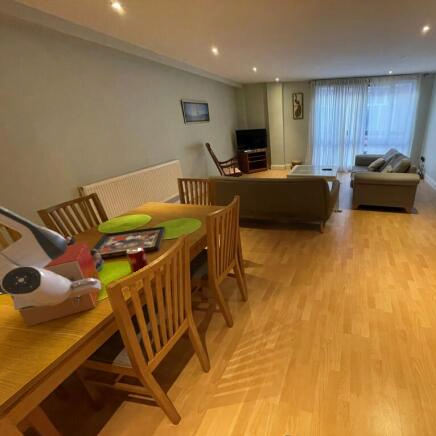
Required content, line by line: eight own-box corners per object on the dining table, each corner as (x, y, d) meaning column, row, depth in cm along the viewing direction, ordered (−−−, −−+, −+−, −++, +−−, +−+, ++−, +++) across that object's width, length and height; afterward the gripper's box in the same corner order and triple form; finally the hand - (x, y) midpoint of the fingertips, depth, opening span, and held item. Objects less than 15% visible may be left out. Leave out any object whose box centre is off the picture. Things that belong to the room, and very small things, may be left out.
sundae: (64, 258, 129) (53, 233, 123) (79, 253, 134) (70, 229, 128) (68, 262, 125) (57, 237, 120) (83, 257, 131) (74, 232, 125)
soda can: (134, 277, 113) (128, 255, 109) (130, 271, 118) (123, 250, 113) (151, 270, 118) (145, 249, 114) (146, 265, 123) (140, 244, 118)
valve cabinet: (95, 306, 96) (77, 260, 88) (29, 324, 87) (1, 275, 79) (102, 283, 109) (86, 242, 101) (44, 298, 100) (22, 253, 92)
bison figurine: (96, 277, 114) (89, 259, 110) (79, 279, 112) (71, 261, 108) (108, 263, 124) (102, 246, 120) (92, 265, 123) (85, 248, 119)
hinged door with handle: (92, 316, 91) (72, 269, 83) (21, 337, 82) (-9, 287, 74) (95, 306, 96) (77, 260, 88) (28, 325, 87) (1, 276, 79)
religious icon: (165, 226, 167) (164, 223, 166) (165, 249, 138) (164, 245, 137) (98, 238, 151) (97, 234, 150) (83, 266, 122) (81, 261, 121)
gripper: (93, 270, 80) (106, 279, 92) (7, 290, 71) (33, 297, 82) (94, 289, 78) (107, 295, 90) (6, 312, 69) (34, 315, 81)
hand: (71, 296), depth 86 cm, fingers closed on hinged door with handle, 2 cm apart
